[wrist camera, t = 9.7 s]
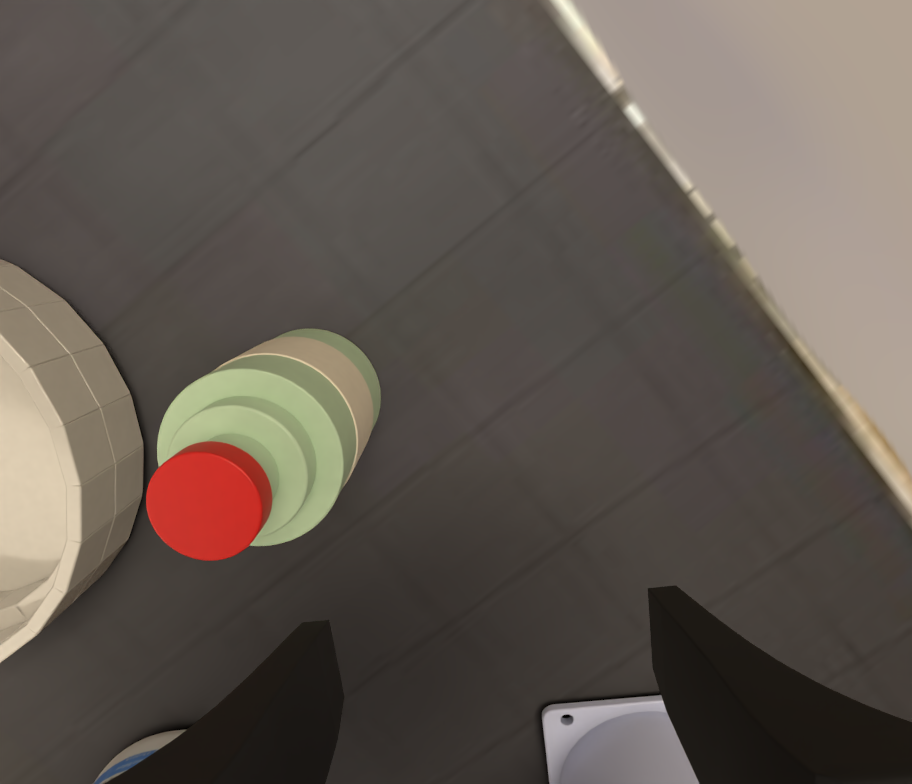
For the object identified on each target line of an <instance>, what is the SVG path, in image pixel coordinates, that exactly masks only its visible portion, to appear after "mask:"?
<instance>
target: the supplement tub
mask: <svg viewBox="0 0 912 784" xmlns="http://www.w3.org/2000/svg"><path fill="white" fill-rule="evenodd" d="M186 730H187V729H186ZM186 730H175V731H168V732H163V733H159V734H156V735H152V736H149V737H146V738H144V739H142V740H140V741H138V742H136V743H134V744H132V745H131V746H129V747H127V748H126V749H124V750H123V751H122V752H121V753H119V754H118V755H117V756H116V757H115V758H113V759H112V760H111V761H110V763H109V764H108V765H107V766H106V767H105V768H104V769H103V771H102V772H101V773H100V774H99V776H98V777H97V779H96V780H95V782H94V783H93V784H104V783H106V782H108V781H110V780H111V779H113V778H115V777H116V776H118V775H120V774H121V773H123V772H125V771H127V770H128V769H130V768H132V767H133V766H135V765H136V764H138V763H139V762H141V761H142V760H144V759H145V758H147V757H148V756H150V755H151V754H153V753H154V752H156V751H157V750H159V749H160V748H162V747H163V746H165V745H166V744H168V743H169V742H171V741H172V740H174V739H175V738H176V737H178V736H179V735H180V734H182V733H183V732H184V731H186Z"/></svg>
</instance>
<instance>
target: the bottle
mask: <svg viewBox="0 0 912 784" xmlns="http://www.w3.org/2000/svg"><path fill="white" fill-rule="evenodd" d="M380 406H381V392H380V385H379V381H378V377H377V375H376V372H375V370H374V368H373V366H372V364H371V363H370V361H369V360H368V358H367V357H366V355H365V354H364V353H363V352H362V351H361V350H360V349H359V348H358V347H357V346H356V345H354V344H353V343H352V342H350V341H349V340H347V339H346V338H344V337H342V336H340V335H338V334H336V333H333V332H330V331H326V330H321V329H311V328H308V329H298V330H293V331H290V332H287V333H284V334H282V335H280V336H278V337H276V338H274V339H272V340H269V341H266V342H264V343H262V344H260V345H258V346H256V347H254V348H252V349H250V350H248V351H246V352H244V353H243V354H241V355H239V356H237V357H235V358H233V359H231V360H229V361H227V362H226V363H224V364H222V365H221V366H219V367H218V368H216V369H215V370H214V371H213V372H211V373H209V374H207V375H205V376H203V377H201V378H200V379H198V380H196V381H195V382H193V383H192V384H190V385H189V386H187V387H186V388H185V389H184V390H183V391H182V392H181V393H180V394H179V395H178V396H177V397H176V398H175V399H174V401H173V402H172V403H171V405H170V406H169V408H168V410H167V411H166V413H165V415H164V418H163V420H162V423H161V426H160V430H159V434H158V442H157V460H158V465H159V468H158V469H157V470H156V472H155V473H154V475H153V476H152V478H151V480H150V483H149V485H148V489H147V495H146V507H147V513H148V516H149V519H150V522H151V524H152V526H153V528H154V529H155V531H156V533H157V534H158V535H159V536H160V538H161V539H162V540H163V541H164V542H165V543H166V544H167V545H169V546H170V547H171V548H173V549H174V550H176V551H177V552H179V553H181V554H183V555H185V556H188V557H191V558H194V559H199V560H207V561H212V560H221V559H226V558H229V557H232V556H234V555H236V554H238V553H240V552H242V551H243V550H244V549H246V548H247V547H248V546H269V545H275V544H281V543H284V542H287V541H291V540H293V539H295V538H297V537H300V536H302V535H303V534H305V533H307V532H308V531H310V530H311V529H313V528H314V527H315V526H316V525H317V524H319V523H320V522H321V521H322V519H323V518H324V517H325V516H326V515H327V514H328V512H329V511H330V509H331V508H332V506H333V505H334V503H335V501H336V499H337V497H338V495H339V493H340V491H341V489H342V488H343V487H344V485H345V484H346V483H347V481H348V480H349V478H350V476H351V474H352V472H353V470H354V468H355V466H356V464H357V462H358V460H359V458H360V456H361V454H362V452H363V450H364V448H365V446H366V444H367V442H368V440H369V437H370V434H371V432H372V430H373V428H374V426H375V423H376V421H377V418H378V415H379V411H380Z"/></svg>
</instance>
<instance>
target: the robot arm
mask: <svg viewBox="0 0 912 784" xmlns="http://www.w3.org/2000/svg"><path fill="white" fill-rule="evenodd" d="M648 598H649V614H650V631H651V647H652V664H653V670H654V674H655V677H656V680H657V683H658V687H659V690H660V693H661V695H655V696H644V697H632V698H621V699H609V700H598V701H586V702H575V703H563V704H552V705H549V706H547V707H545V708H544V710H543V711H542V723H543V732H544V741H545V749H546V758H547V767H548V776H549V784H912V722H909V721H906V720H904V719H901V718H898V717H895V716H893V715H890V714H887V713H885V712H882V711H880V710H877V709H875V708H872V707H869V706H867V705H865V704H862V703H860V702H858V701H856V700H853V699H851V698H849V697H847V696H844V695H842V694H840V693H838V692H836V691H833V690H831V689H829V688H827V687H825V686H823V685H821V684H819V683H817V682H815V681H813V680H812V679H810V678H808V677H806V676H804V675H802V674H801V673H799V672H797V671H795V670H793V669H791V668H790V667H788V666H786V665H785V664H783V663H781V662H780V661H778V660H776V659H775V658H773V657H772V656H770V655H768V654H767V653H765V652H764V651H762V650H761V649H759V648H758V647H756V646H755V645H753V644H752V643H750V642H749V641H747V640H746V639H744V638H743V637H742V636H740V635H739V634H737V633H736V632H735V631H733V630H732V629H730V628H729V627H728V626H726V625H725V624H724V623H722V622H721V621H720V620H718V619H717V618H716V617H715V616H713V615H712V614H711V613H709V612H708V611H707V610H706V609H704V608H703V607H702V606H701V605H699V604H698V603H697V602H696V601H694V600H693V599H692V598H691V597H689V596H688V595H687V594H686V593H685V592H683V591H682V590H681V589H680V588H678V587H677V586H667V587H657V588H648ZM343 701H344V693H343V688H342V683H341V678H340V673H339V668H338V663H337V658H336V653H335V648H334V643H333V638H332V633H331V628H330V623H329V620H324V621H314V622H304V623H302V624H301V625H300V626H299V627H297V628H296V629H295V630H294V631H293V632H292V633H291V634H290V635H289V636H288V637H287V638H286V639H285V640H284V641H283V642H282V644H281V645H280V646H279V647H278V648H277V649H276V650H275V651H274V652H273V653H272V654H271V655H270V656H269V657H268V658H267V659H266V660H265V661H264V662H263V663H262V664H261V665H260V666H259V667H258V668H257V669H256V670H255V671H254V672H253V673H252V674H251V675H250V676H249V677H248V678H247V679H245V680H244V681H243V682H242V683H241V684H240V685H239V686H238V687H237V688H236V689H234V690H233V691H232V692H231V693H230V694H229V695H228V696H227V697H226V698H225V699H224V700H222V701H221V702H220V703H219V704H218V705H217V706H216V707H215V708H213V709H212V710H211V711H210V712H209V713H207V714H206V715H205V716H204V717H203V718H201V719H200V720H199V721H198V722H196V723H195V724H194V725H192V726H191V727H190V728H188V729H187V730H186V731H184V732H183V733H182V734H180V735H179V736H178V737H176V738H175V739H174V740H172V741H171V742H169V743H168V744H166V745H165V746H163V747H162V748H160V749H159V750H157V751H156V752H154V753H153V754H151V755H150V756H148V757H147V758H145V759H144V760H142V761H141V762H139V763H138V764H136V765H135V766H133V767H132V768H130V769H128V770H127V771H125V772H123V773H121V774H120V775H118V776H116V777H115V778H113V779H111V780H110V781H108V782H106V783H104V784H325V782H326V779H327V775H328V772H329V768H330V765H331V761H332V758H333V754H334V751H335V747H336V743H337V739H338V733H339V728H340V722H341V715H342V708H343ZM566 714H568V715H571V716H570V717H569V718H563V717H562V716H563V715H566Z"/></svg>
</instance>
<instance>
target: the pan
mask: <svg viewBox="0 0 912 784" xmlns="http://www.w3.org/2000/svg"><path fill="white" fill-rule="evenodd" d="M143 444H144V443H143V439H142V436H141V432H140V428H139V424H138V420H137V416H136V412H135V408H134V404H133V400H132V396H131V394H130V391H129V389H128V388H127V386H126V384H125V382H124V380H123V378H122V376H121V375H120V373H119V371H118V369H117V367H116V365H115V364H114V362H113V360H112V358H111V356H110V354H109V352H108V351H107V349H106V347H105V345H103V342H102V341H101V340H100V339H99V338H98V337H97V336H96V335H95V333H94V332H93V331H92V330H91V329H90V328H89V327H88V326H87V324H86V323H85V322H84V321H83V320H82V319H81V318H80V317H79V315H78V314H77V313H76V312H75V311H74V310H73V309H72V308H71V306H70V305H69V304H68V303H67V302H66V301H65V300H64V299H63V298H61V297H60V296H58V295H57V294H56V293H54V292H53V291H51V290H50V289H49V288H47V287H46V286H44V285H43V284H42V283H40V282H39V281H37V280H36V279H35V278H33V277H32V276H30V275H29V274H28V273H26V272H25V271H23V270H22V269H20V268H19V267H18V266H16V265H15V266H14V265H13V264H11V263H9V262H6V261H4V260H1V259H0V663H1V662H2V661H4V660H5V659H6V658H8V657H9V656H10V655H12V654H13V653H14V652H16V651H17V650H18V649H20V648H21V647H22V646H24V645H25V644H26V643H28V642H29V641H30V640H32V639H33V638H34V637H36V636H37V635H38V634H39V633H40V632H41V631H42V630H43V629H45V628H46V627H47V626H48V625H49V624H50V623H51V622H52V621H53V620H54V619H55V618H56V617H58V616H59V615H60V614H61V613H62V612H63V611H64V610H65V609H66V608H67V607H68V606H69V605H71V604H72V602H74V601H75V600H76V599H77V598H78V597H79V596H80V595H81V594H82V593H83V592H85V591H86V590H87V589H88V588H89V587H90V586H91V585H92V584H93V583H94V582H95V581H96V580H97V579H99V578H100V577H101V576H102V575H103V574H104V573H105V571H106V570H107V568H108V567H109V566H110V564H111V563H112V561H113V560H114V559H115V557H116V556H117V554H118V553H119V551H120V550H121V549H122V547H123V546H124V544H125V543H126V542H127V540H128V538H129V536H130V533H131V530H132V527H133V523H134V520H135V517H136V514H137V511H138V508H139V505H140V501H141V498H142V493H143V452H144V446H143Z"/></svg>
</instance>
